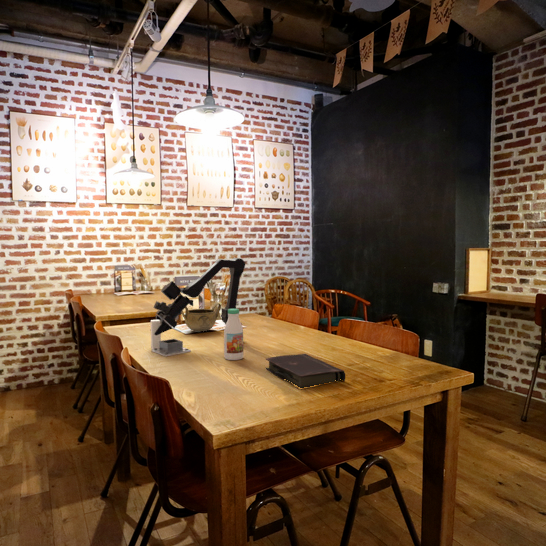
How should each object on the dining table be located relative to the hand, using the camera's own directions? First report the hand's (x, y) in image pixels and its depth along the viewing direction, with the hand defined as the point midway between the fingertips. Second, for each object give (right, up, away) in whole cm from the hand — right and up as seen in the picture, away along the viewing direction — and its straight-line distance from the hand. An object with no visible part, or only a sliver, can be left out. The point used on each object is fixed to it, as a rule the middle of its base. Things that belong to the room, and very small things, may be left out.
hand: (153, 332), depth 190 cm
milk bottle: (+37, -8, -16) cm, 41 cm away
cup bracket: (+9, -7, -5) cm, 13 cm away
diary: (+64, -10, -39) cm, 75 cm away
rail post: (+1, -7, +1) cm, 7 cm away
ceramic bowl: (+14, -5, +39) cm, 42 cm away
